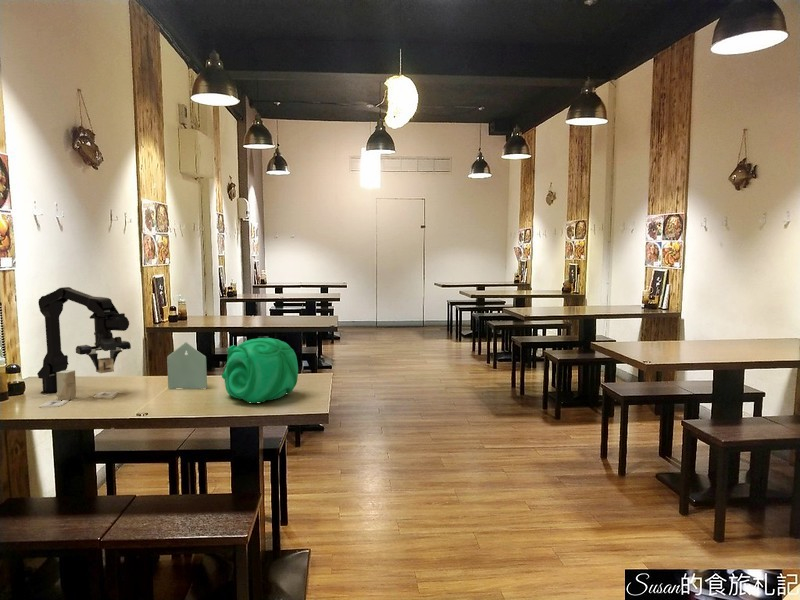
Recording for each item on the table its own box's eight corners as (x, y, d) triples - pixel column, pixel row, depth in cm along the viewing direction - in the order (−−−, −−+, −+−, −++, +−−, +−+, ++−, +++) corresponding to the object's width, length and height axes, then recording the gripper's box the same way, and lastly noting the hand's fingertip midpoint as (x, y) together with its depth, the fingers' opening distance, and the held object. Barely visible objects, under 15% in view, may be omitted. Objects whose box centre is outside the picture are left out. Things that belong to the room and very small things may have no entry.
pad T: (39, 407, 210) (39, 405, 209) (49, 402, 216) (49, 400, 216) (59, 406, 210) (59, 405, 210) (68, 401, 217) (68, 400, 217)
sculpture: (244, 369, 243) (276, 317, 233) (285, 415, 234) (320, 363, 224) (195, 382, 220) (228, 324, 209) (238, 433, 211) (276, 376, 200)
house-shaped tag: (213, 384, 244) (212, 339, 243) (206, 389, 236) (205, 342, 235) (176, 384, 245) (174, 339, 243) (168, 389, 237) (166, 342, 235)
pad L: (93, 398, 223) (93, 396, 223) (100, 393, 230) (100, 391, 230) (111, 397, 224) (111, 395, 223) (118, 393, 230) (118, 391, 230)
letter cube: (100, 373, 222) (99, 360, 222) (96, 371, 226) (95, 358, 225) (114, 371, 226) (113, 358, 225) (109, 369, 229) (108, 357, 229)
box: (66, 401, 218) (65, 372, 217) (57, 400, 219) (55, 372, 218) (77, 397, 224) (75, 370, 223) (67, 397, 224) (66, 369, 223)
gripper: (83, 334, 212) (85, 375, 213) (135, 329, 225) (136, 368, 227) (74, 331, 220) (76, 371, 221) (124, 327, 233) (126, 364, 235)
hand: (104, 368), depth 226 cm, fingers closed on letter cube, 5 cm apart
